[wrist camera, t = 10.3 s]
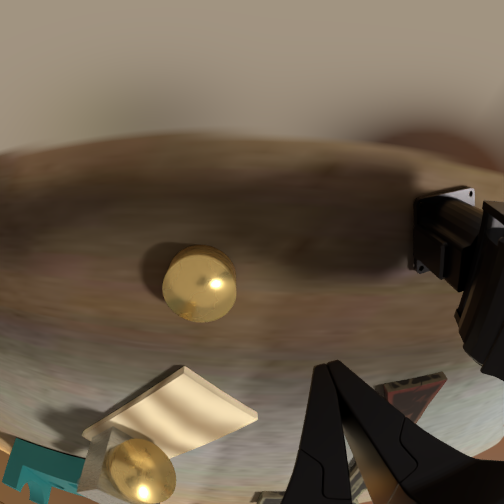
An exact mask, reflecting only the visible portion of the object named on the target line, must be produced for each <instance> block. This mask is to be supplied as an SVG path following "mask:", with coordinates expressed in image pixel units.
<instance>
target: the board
mask: <svg viewBox="0 0 504 504" xmlns="http://www.w3.org/2000/svg"><path fill="white" fill-rule="evenodd" d="M256 420H258V416H257V412H256V411H254V410H252V409H251V408H249V407H247V406H246V405H244V404H242V403H241V402H239V401H237V400H236V399H234V398H233V397H231V396H229V395H228V394H226V393H225V392H223V391H221V390H220V389H218V388H217V387H215V386H214V385H212V384H211V383H209V382H208V381H206V380H205V379H203V378H202V377H200V376H199V375H197V374H196V373H195V372H193V371H192V370H190V369H189V368H187V367H186V366H183V367H182V368H181V369H179V370H178V371H176V372H175V373H173V374H172V375H170V376H169V377H167V378H166V379H164V380H163V381H161V382H160V383H158V384H157V385H155V386H154V387H152V388H151V389H149V390H148V391H146V392H144V393H143V394H141V395H140V396H138V397H137V398H135V399H134V400H132V401H130V402H129V403H127V404H126V405H124V406H123V407H121V408H119V409H118V410H116V411H115V412H113V413H111V414H110V415H108V416H107V417H105V418H103V419H102V420H100V421H98V422H97V423H95V424H93V425H92V426H90V427H88V428H87V429H85V430H84V431H83V434H82V436H83V437H84V438H86V439H88V440H89V441H91V440H92V437H94V436H96V435H98V434H99V433H101V432H103V431H105V430H107V429H109V428H111V427H112V426H114V427H115V428H117V429H119V430H120V431H122V432H124V433H126V434H127V435H129V436H131V437H133V438H134V439H144V440H147V441H150V442H152V443H153V444H155V445H157V446H158V447H159V448H160V449H161V450H162V451H163V452H164V453H165V454H166V455H167V456H168V458H172V457H174V456H177V455H180V454H182V453H185V452H187V451H190V450H192V449H195V448H197V447H200V446H202V445H205V444H207V443H209V442H212V441H214V440H216V439H218V438H221V437H223V436H225V435H227V434H229V433H232V432H234V431H236V430H238V429H240V428H242V427H244V426H246V425H248V424H250V423H252V422H254V421H256Z"/></svg>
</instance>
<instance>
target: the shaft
mask: <svg viewBox="0 0 504 504" xmlns="http://www.w3.org/2000/svg"><path fill="white" fill-rule="evenodd" d="M106 470H107V475H108V478H109V480H110V482H111V484H112V486H113V487H114V488H115V490H116V491H117V492H118V493H119V494H120V495H121V496H122V497H124V498H125V499H127V500H128V501H131V502H133V503H136V504H154V503H160V502H163V501H165V500H167V499H168V498H169V497H170V496H171V495H172V494H173V492H174V490H175V486H176V474H175V470H174V467H173V465H172V463H171V461H170V459H169V458H168V456H167V455H166V454H165V453H164V452H163V451H162V450H161V449H160V448H159V447H158V446H157V445H155V444H153V443H152V442H150V441H147V440H144V439H130V440H127V441H125V442H123V443H121V444H118V445H117V446H115V447H114V448H113V449H112V450H111V451H110V453H109V454H108V457H107V461H106ZM79 481H80V478H79V479H78V480H77V488H78V485H79Z"/></svg>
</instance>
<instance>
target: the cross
mask: <svg viewBox="0 0 504 504" xmlns="http://www.w3.org/2000/svg"><path fill="white" fill-rule="evenodd" d="M446 380H447V377H446V376H445V374H444V373H443V372H439V373H435V374H431V375H426V376H422V377H417V378H412V379H407V380H402V381H396V382H391V383H385V384H384V393H385V399H386V400H387V401H388V402H389V403H391V404H392V405H393V406H394V407H395V408H397V409H398V410H399V411H400V412H402V413H403V414H404V415H405V417H408V418H409V419H410V420H411V421H413V422H414V423H415V424H416V423H417V421H418V420H419V419H420V417H421V416H422V414H423V412H424V411H425V409H426V408H427V406H428V404H429V403H430V402H431V401H432V399H433V398H434V397H435V395H436V394H437V393H438V391H439V390H440V389H441V387H442V386H443V385H444V383H445V382H446ZM349 477H350V486H351V495H352V504H359V503H358V500H357V498H358V497H359V496H360V495H361V494H362V493H363V491H364V490H366V489H367V487H366V485H365V482H364V480H363V477H362V475H361V473H360V470H359V468H358V465H357V463H356V462H355V464H354V465H353V467H352V468H351V469H350V471H349ZM284 493H285V492H275V491H262V493H261V495H260V497H259V499H258V500H257V504H280V502H281V500H282V498H283V496H284Z"/></svg>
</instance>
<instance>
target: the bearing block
mask: <svg viewBox="0 0 504 504" xmlns="http://www.w3.org/2000/svg"><path fill="white" fill-rule="evenodd" d="M130 439H134V438H133V437H131V436H129V435H127V434H126V433H124V432H122V431H120V430H119V429H117V428H115V427H114V426H112V427H111V428H109V429H107V430H105V431H103V432H101V433H99V434H98V435H96V436H94V437H92V440H91V443H90V446H89V450H88V453H87V456H86V460H85V463H84V466H83V470H82V474H81V477H80V481H79V485H78V488H77V493H79V494H81V495H83V496H85V497H87V498H89V499H91V500H93V501H96V502H98V503H100V504H136V503H133V502H131V501H128V500H127V499H125V498H124V497H122V496H121V495H120V494H119V493H118V492H117V491H116V490H115V488H114V487H113V486H112V484H111V482H110V480H109V478H108V475H107V470H106V461H107V457H108V454H109V453H110V451H111V450H112V449H113V448H114V447H115V446H117V445H118V444H121V443H123V442H125V441H127V440H130ZM154 504H160V503H154Z"/></svg>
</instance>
